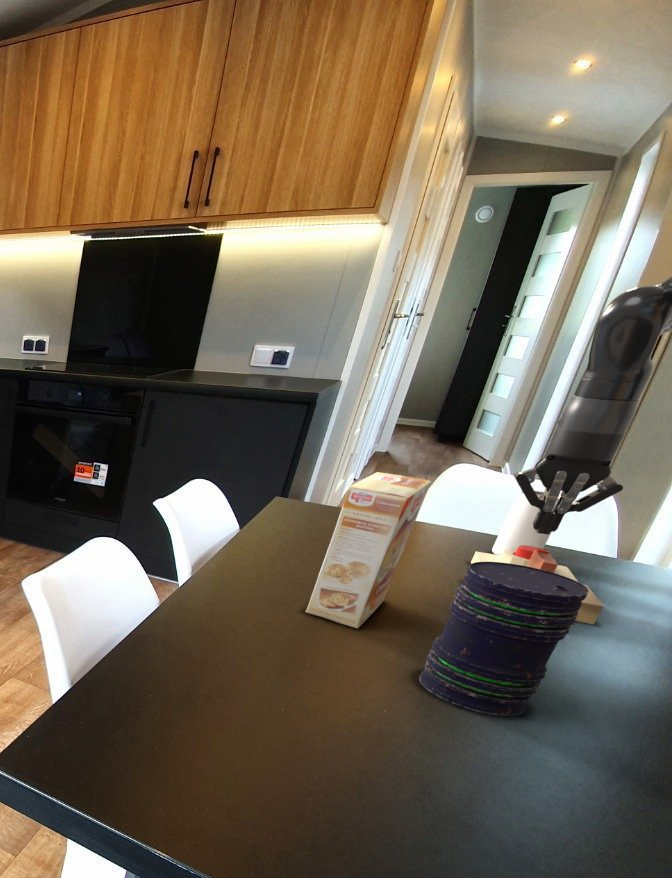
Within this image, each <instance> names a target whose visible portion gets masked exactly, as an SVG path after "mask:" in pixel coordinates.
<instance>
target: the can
mask: <svg viewBox="0 0 672 878" xmlns="http://www.w3.org/2000/svg"><path fill="white" fill-rule="evenodd" d="M534 491H535V493H536V495H537V496H538V498H540V499H543V497H544V492H545V491H540V490H539V491H538V490H534ZM560 495H561V494H559V497H558V498H557V500H556V503H557V501H558V500H559V498H560ZM556 503H555V505H556ZM554 507H555V506H554ZM538 511H539V508H537V507H535V506H532V505H530V503H529V502H528V500H527V499H526V497H525V495H524V493H523V492H522V491H521V494H519V496H517V497H516V498H515V499H514V501H513V503H512V505H511V507H510V509H509V512H508V513H507V515H506V518H505V520H504V522H503V525H502V527H501V529H500V531H499V533H498V535H497V537H496V540H495V542H494V544H493V546H492V549H491V551H492V554H494V555H500V556H501V554H502V552H503V551H505V550H517V548H518V546H521V545H525V546H533V547H538V548H541V549H545V546H546V545H547V542H548V540H549V538H550V536H551V534H552V531H551V532H550V534H549V535H547V534H540V533H536V531H535V530H536V529H534V528H533V522H534V520H535V518H536V516H537V513H538Z"/></svg>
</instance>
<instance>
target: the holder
mask: <svg viewBox="0 0 672 878" xmlns="http://www.w3.org/2000/svg"><path fill="white" fill-rule="evenodd" d="M555 561H556V559H554V558H553V556H552V555H551V554H550V551H549V550H547V549H544V550H542V549H536V550H534V552H533V554H532V556H531V558H530V560H529V562H528V564H527V567H532V568H537V569H541V570H545V571H549V572H552V573H554V571H555V569H556V567H557V565H559V564H558V563H557V561H556V562H555Z"/></svg>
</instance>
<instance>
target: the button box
mask: <svg viewBox="0 0 672 878" xmlns="http://www.w3.org/2000/svg"><path fill="white" fill-rule="evenodd" d="M515 552H516V550H505V551H503V552H502V554H501V556H500V555H495V554H494V553H487V552H482V551H475V552H474V555H473V557H472V559H471V561H470V564H472V563H475V562H501V563H510V564H516V565H522V566H527V564H528V562H529V559H525V558H521V557H518V556H515ZM555 562H556V563H557V561H556V560H555ZM554 573H556V574H559V575H562V576H565V577H568V578H570V579H573V580H575V581H577V582H579V581H578V579H577V578H576V577H575V575H574V574H573V572H572V571H571V570H570V568H569V567H568V566H565V565H560V564H558V565H557V567H556V569H555V571H554Z"/></svg>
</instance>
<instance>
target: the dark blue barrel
mask: <svg viewBox="0 0 672 878" xmlns="http://www.w3.org/2000/svg"><path fill="white" fill-rule="evenodd" d="M466 574H467V575H466ZM466 574H465V576H464V577H463V578H462V581H461V583H460V584H459V585H458V587H457V589H456V592H455V594H454V598H453V600H452V601H451V603H450V608H449V610H450V614H449V616H448V619H447V621H446V623H445V625H444V628H443V629H442V632H441V634H440V635H438V636H437V637H436V638H435V640H434V641H433V642H432V646H431V648H430V650H429V651H428V654H427V656H426V659H425V660H426V662H425V664H424V666H423V668H424V669H423V670H422V671H421V672H420V675H419V677H418V680H419V683H420V685H422V686H423V687H424V689H425V690H427V691H428V692H430V693H431V694H433V695H435V696H436V697H438V698H440V699H442V700H443V701H446V702H448V703H450V704H453V705H456V706H458V707H461V708H464V709H467V710H470V711H473V712H478V713H483V714H487V715H493V716H499V717H500V716H501V717H504V716H505V717H512V716H518V715H521V714H524V712H525V710H526V708H527V702H529V701H530V700H531V699H532V697H533V695H535V694H536V693H537V691H538V689H539V687H540V685H541V684H542V683H541V682H542V680H543V679H545V678H546V673H547V671H548V669H547V666H546V665H547V663H549V660H550V658H551V656H552V654H553V653H554V651H555V649H556V647H557V645H558V643H559V642H560V641H562V640H564V639H565V637H566V636H567V635H568V634H569V633H570V628H571V626H573V624H575V622H576V621H575V619H576V618H577V616H578V611H579V609H580V607H581V605H582V602H581V601H582V600H584V599H585V598H586V596H587V594H588V592H589V589H588V588H587V587H586V586H584V585H585V584H584V585H583V583H581V582H580V581H578V580H577V581H578V582H577V581H575V580H573V579H570V578H568V577H565V576H562V575H559V574H556V573H552V572H549V571H545V570H541V569H537V568H532V567H527V566H522V565H516V564H510V563H501V562H475V563H472V564H471V563H470V564H469V566H468V567H467V570H466Z"/></svg>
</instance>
